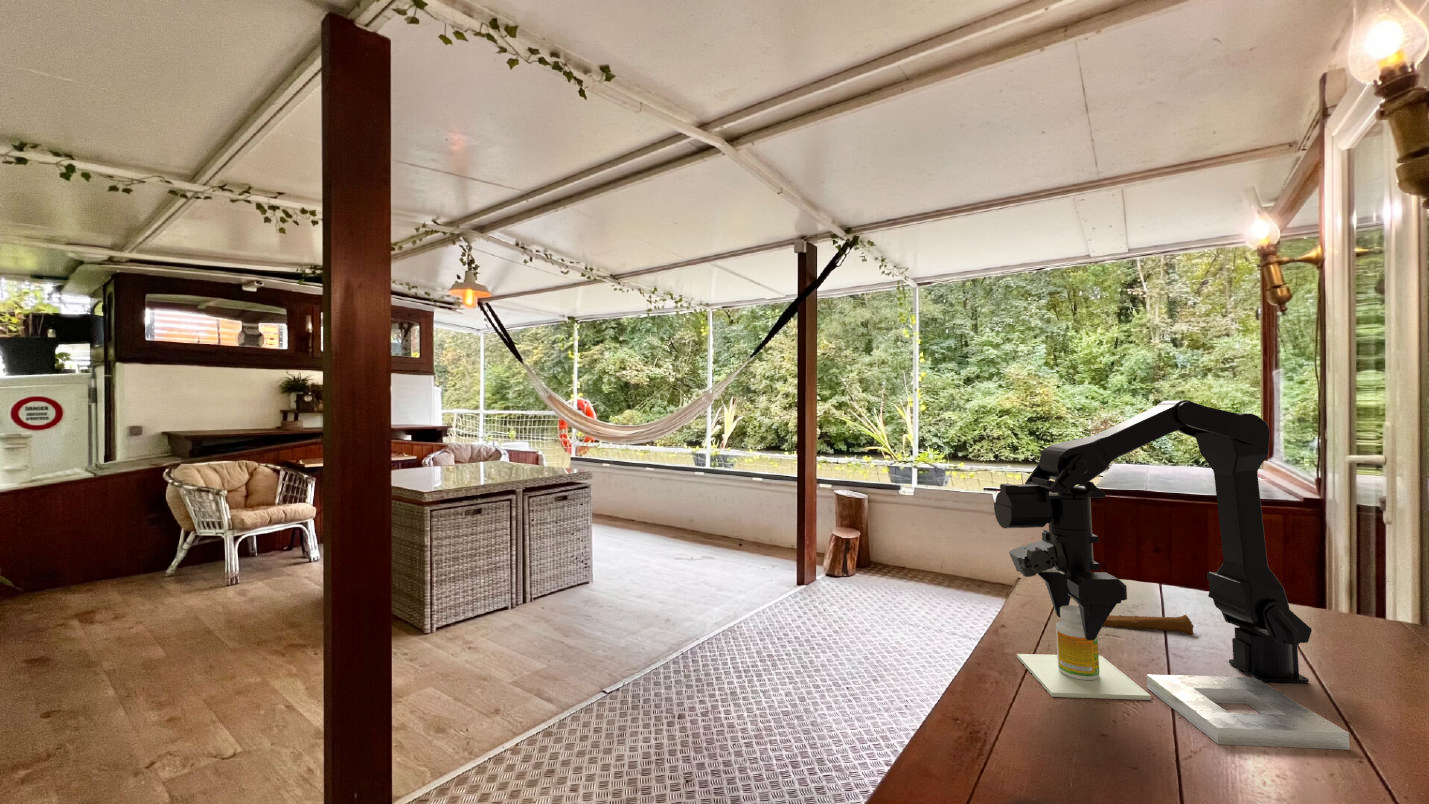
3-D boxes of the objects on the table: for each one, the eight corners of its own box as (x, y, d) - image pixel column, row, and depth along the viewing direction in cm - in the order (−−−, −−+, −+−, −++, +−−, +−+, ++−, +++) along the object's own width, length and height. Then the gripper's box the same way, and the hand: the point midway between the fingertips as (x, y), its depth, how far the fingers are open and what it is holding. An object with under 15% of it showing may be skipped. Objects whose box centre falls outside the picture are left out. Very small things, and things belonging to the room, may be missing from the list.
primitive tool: (1069, 625, 108) (1068, 606, 108) (1065, 615, 113) (1064, 598, 113) (1196, 639, 99) (1195, 619, 99) (1187, 628, 104) (1186, 609, 104)
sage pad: (1101, 659, 92) (1101, 655, 92) (1150, 699, 79) (1150, 695, 79) (1017, 657, 94) (1016, 653, 94) (1052, 696, 81) (1051, 692, 81)
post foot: (1254, 691, 81) (1253, 677, 81) (1349, 749, 67) (1348, 732, 67) (1147, 688, 83) (1146, 674, 83) (1218, 744, 69) (1217, 727, 69)
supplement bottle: (1104, 683, 83) (1100, 617, 83) (1061, 678, 85) (1058, 613, 85) (1095, 667, 88) (1091, 605, 88) (1055, 663, 90) (1051, 602, 90)
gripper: (993, 515, 98) (998, 606, 97) (1039, 540, 79) (1045, 652, 79) (1063, 515, 96) (1067, 607, 96) (1126, 540, 77) (1132, 654, 77)
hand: (1074, 627), depth 87 cm, fingers open, 9 cm apart
